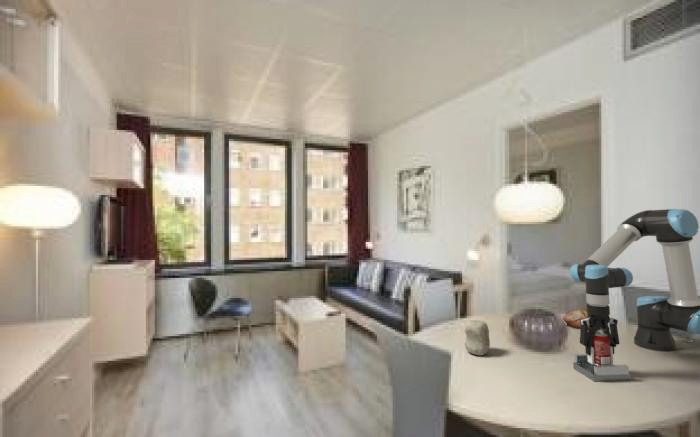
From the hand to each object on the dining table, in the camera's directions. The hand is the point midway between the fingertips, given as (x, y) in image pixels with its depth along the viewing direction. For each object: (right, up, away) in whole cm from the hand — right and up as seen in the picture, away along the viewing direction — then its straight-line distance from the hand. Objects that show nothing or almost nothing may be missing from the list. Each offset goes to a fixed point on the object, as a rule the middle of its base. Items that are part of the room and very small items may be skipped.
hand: (600, 362), depth 140 cm
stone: (-39, -6, +27) cm, 48 cm away
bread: (+32, -4, +61) cm, 69 cm away
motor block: (0, -5, 0) cm, 5 cm away
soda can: (0, -1, 0) cm, 1 cm away
